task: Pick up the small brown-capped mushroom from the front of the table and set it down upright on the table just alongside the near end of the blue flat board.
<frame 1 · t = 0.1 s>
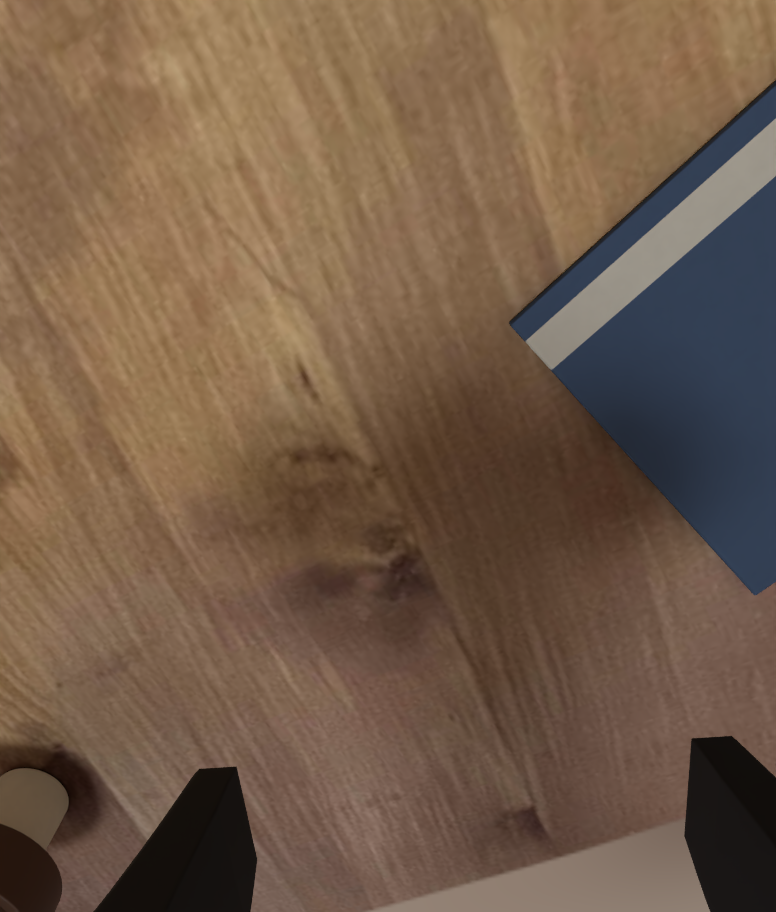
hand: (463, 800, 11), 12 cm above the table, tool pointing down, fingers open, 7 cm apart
mushroom: (32, 795, 27), on the table
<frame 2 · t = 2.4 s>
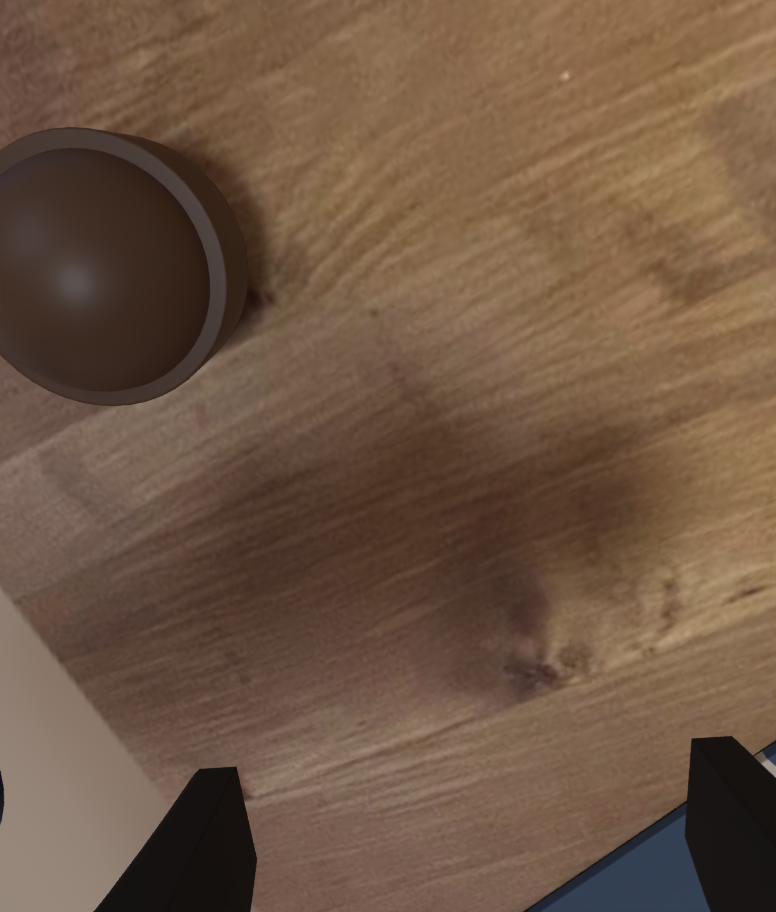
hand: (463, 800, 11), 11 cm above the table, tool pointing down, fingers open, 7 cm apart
mushroom: (174, 250, 19), on the table
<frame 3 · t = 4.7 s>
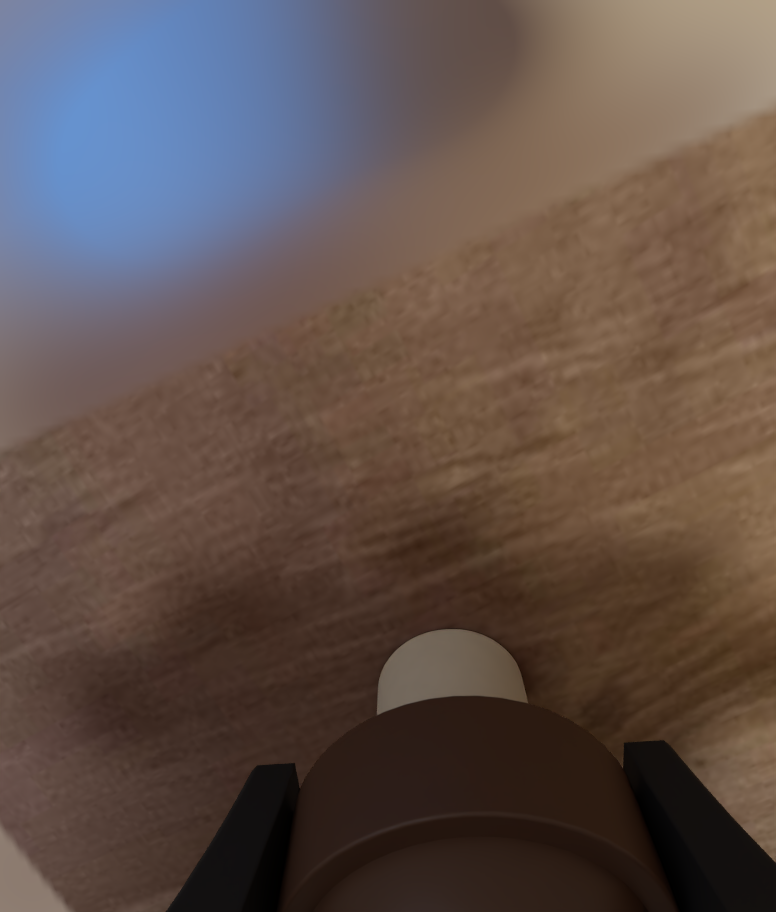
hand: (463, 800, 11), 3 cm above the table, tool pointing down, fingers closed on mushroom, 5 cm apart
mushroom: (450, 687, 14), on the table, touching gripper
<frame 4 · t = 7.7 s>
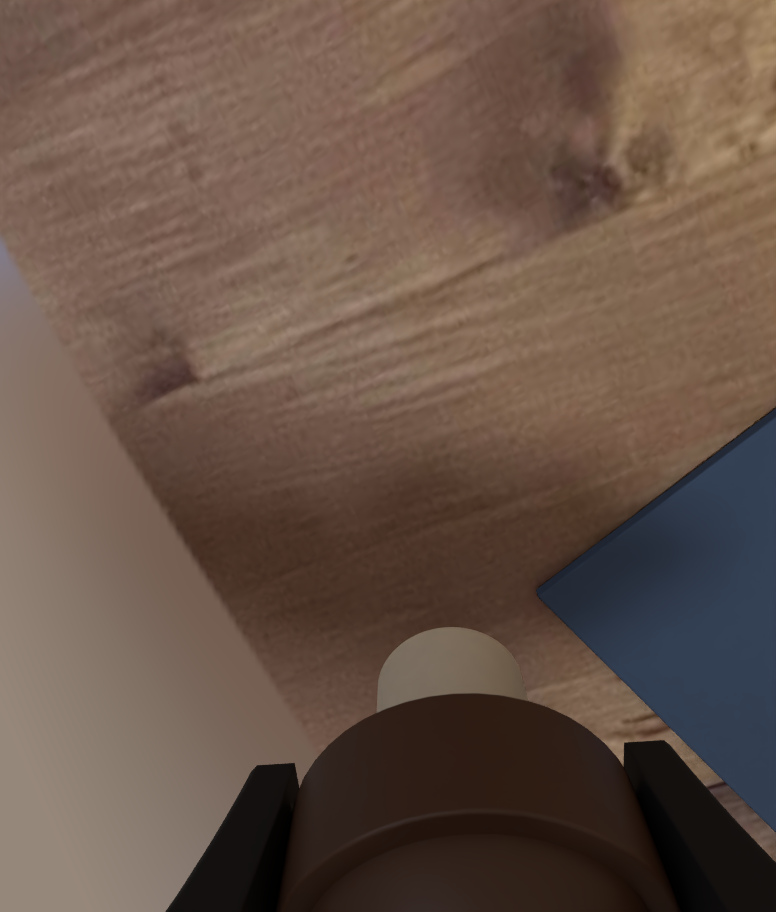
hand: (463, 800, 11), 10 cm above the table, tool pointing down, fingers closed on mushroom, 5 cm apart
mushroom: (449, 685, 14), point 7 cm above the table, touching gripper
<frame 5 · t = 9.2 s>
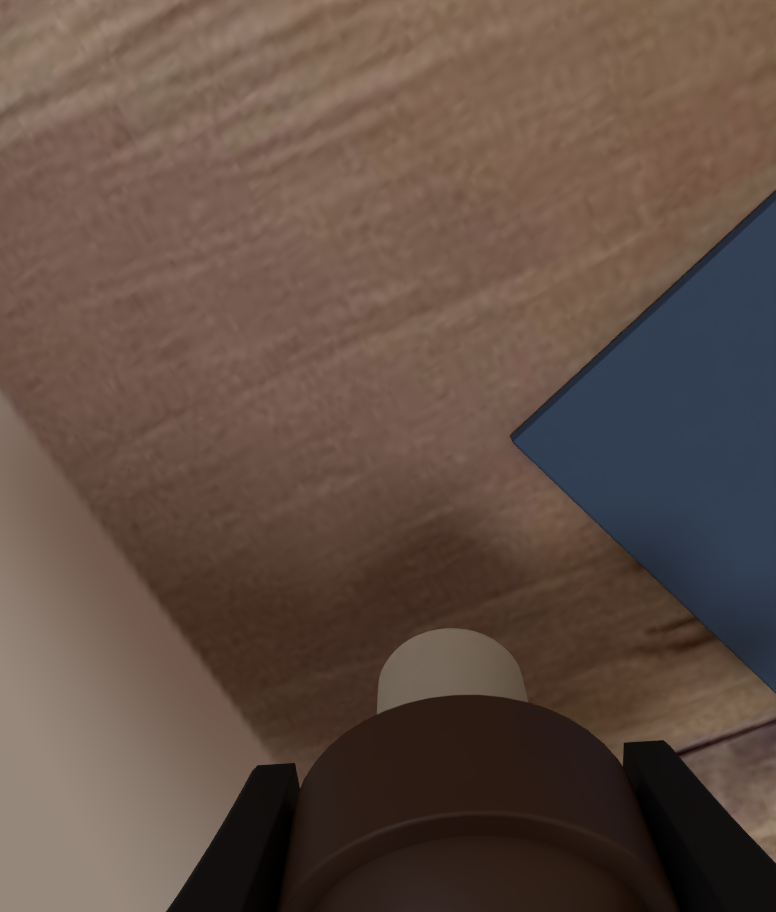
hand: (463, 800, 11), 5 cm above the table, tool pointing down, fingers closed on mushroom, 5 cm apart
mushroom: (450, 687, 14), point 3 cm above the table, touching gripper
when the fingers open (3 cm above the table, at t = 10.5 s): mushroom stays where it is, on the table.
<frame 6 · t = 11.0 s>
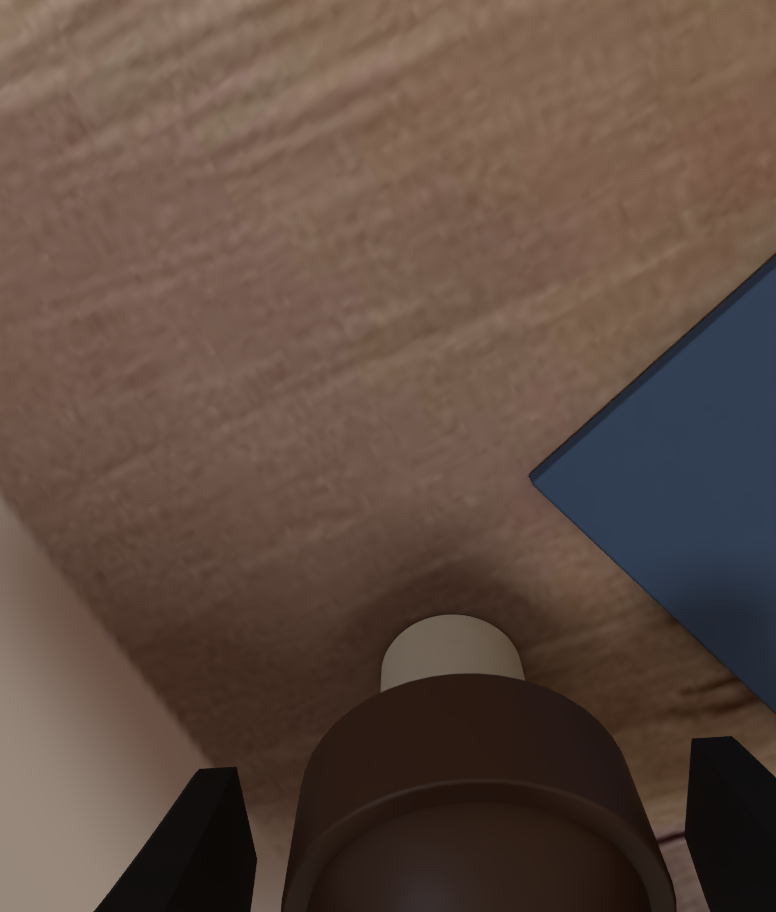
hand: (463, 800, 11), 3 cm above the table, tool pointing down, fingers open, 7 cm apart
mushroom: (451, 671, 14), on the table
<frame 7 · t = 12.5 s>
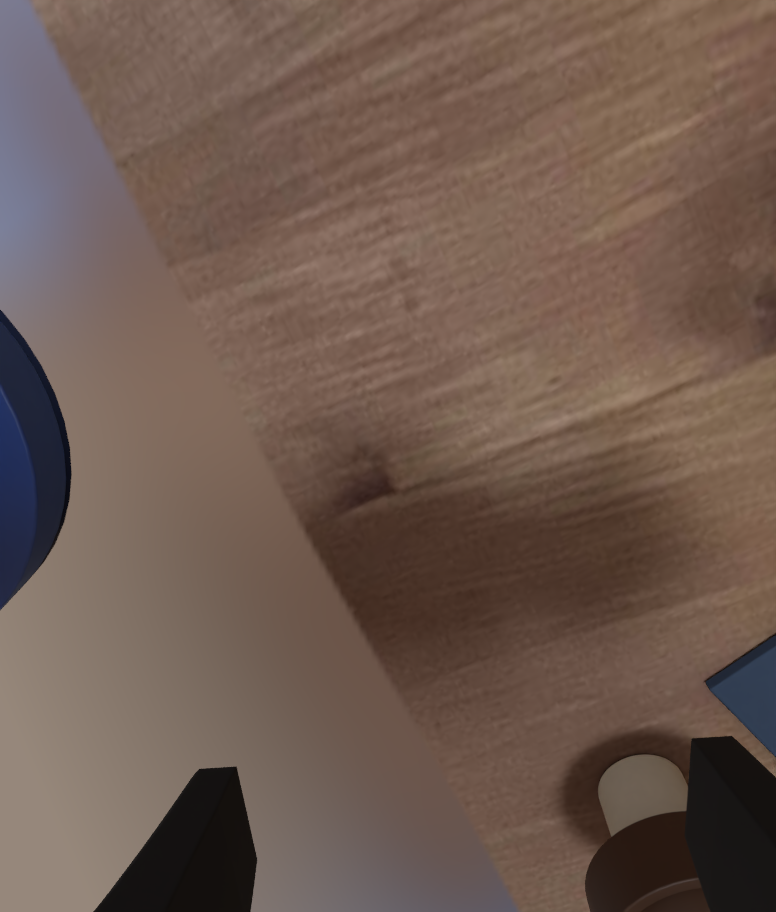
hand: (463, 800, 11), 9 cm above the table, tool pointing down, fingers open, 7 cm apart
mushroom: (640, 786, 23), on the table
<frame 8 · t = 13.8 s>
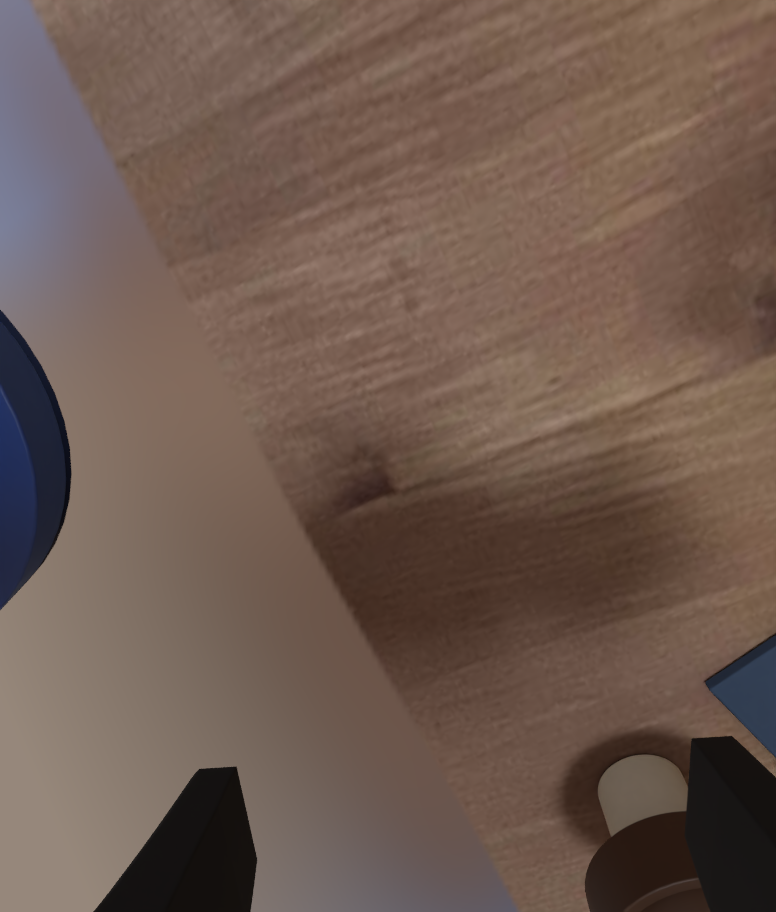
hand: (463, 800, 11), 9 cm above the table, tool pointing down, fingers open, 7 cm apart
mushroom: (639, 786, 23), on the table
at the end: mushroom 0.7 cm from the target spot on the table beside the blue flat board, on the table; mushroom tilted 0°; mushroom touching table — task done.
